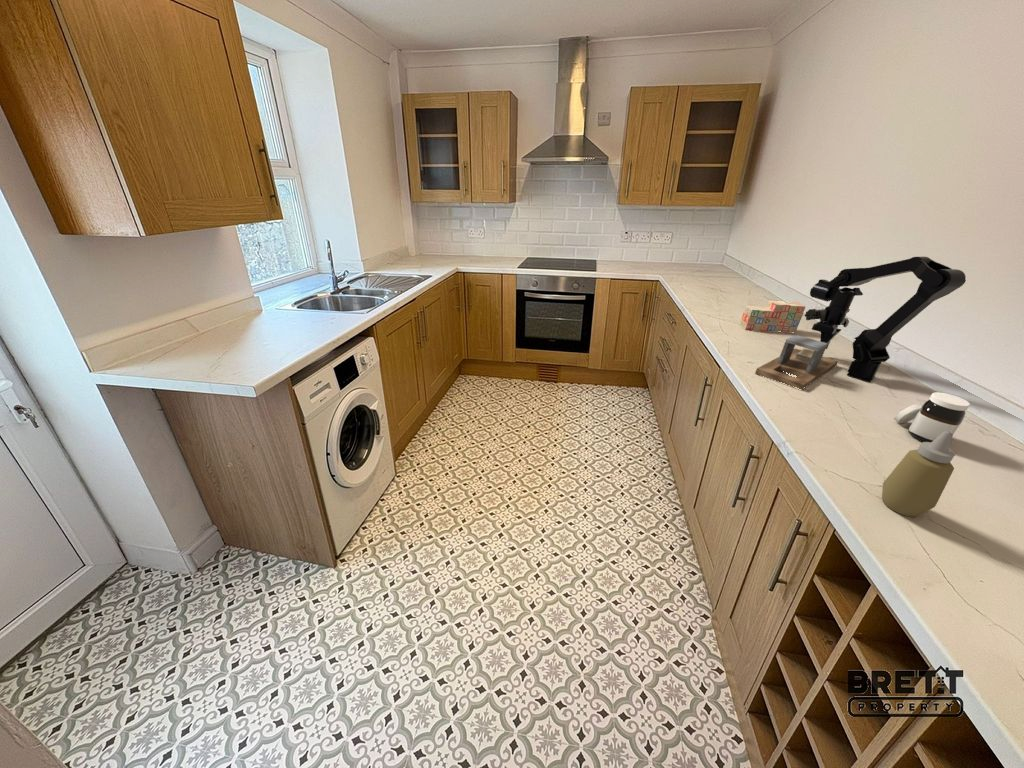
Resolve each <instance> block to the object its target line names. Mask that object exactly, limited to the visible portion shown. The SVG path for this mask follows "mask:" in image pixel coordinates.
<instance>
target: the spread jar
mask: <svg viewBox="0 0 1024 768" xmlns="http://www.w3.org/2000/svg"><path fill="white" fill-rule="evenodd" d="M970 406H971V403H970V402H969V401H968V400H966V399H964V398H962V397H959V396H957V395H953V394H951V393H946V392H938V391H937V392H932V393H931V395H930V396H929V399H928V400H926V401H925V402H924V403H923V404H922V403H914V404H913V405H912V404H911V405H910V406H908V407H906V408H904V409H902V410H901V411H899V412H898V413H897V414H896V415H895V416H894V418H893V419H894V420H895V422H896V423H897V424H899V425H901V424H905V423H908V422H911V421H912V422H911V424H910V426H909V428H908V431H907V432H908V434H909V435H910V436H911V437H912V438H914V439H916V440H917V441H920V442H921V443H922V442H933V441H934V440H935V439H936V438H937V437H938V436H939V435H940V434H942V433H943V432H944V431H949V432H951V433H953V435H954V434H955V433H956V431H957V430H958V428H959V427H960V425H961V424H962V422H963V420H964V418H965V417H966V411H967V410H968V409H969V407H970Z"/></svg>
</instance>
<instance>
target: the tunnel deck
mask: <svg viewBox="0 0 1024 768" xmlns="http://www.w3.org/2000/svg"><path fill="white" fill-rule="evenodd" d="M827 344H828V343H824V342H820V340H817V339H813V338H809V337H807V336H806V337H805V336H802V335H798V334H794V335H792V336H791V337H788V338H786V339H785V342H784V345H783V346H782V350H781V352H780V355H779V356H778V357H776V358H774V359H772V360H770V361H768V362H767V363H764V364H763V365H761V366H758V367H756V370H755V373H754V374H755V375H757V376H760V375H761V376H760V377H763V376H764V377H763V378H765V377H767V378H766V379H768V378H770V379H769V380H771V379H773V380H772V381H774V380H776V381H775V382H777V381H779V382H782V383H785V384H787V385H786V386H788V385H790V386H794V387H797V388H799V389H802V390H804V389H805V388H807V387H808V386H810V385H811V384H813V383H814V382H815V381H817V380H818V379H820V378H821V377H823V376H824V375H825V373H826V374H827V373H829V372H830V371H832V370H833V369H835V368H836V367H837V365H838V363H839V361H838V360H835V359H831V358H828V357H825V356H824V353H825V351H826V350H827V349H826V347H827ZM795 346H798V347H800V348H801V347H802V348H808V349H811V350H814V352H813V355H812V357H811V359H810V362H807V361H804V360H801V359H797V358H795V357H796V355H797V353H799V352H801V351H802V350H803V349H802V350H801V349H798V348H795ZM822 356H823V357H822ZM821 358H822V359H821ZM835 366H836V367H835ZM783 371H784V372H783ZM828 371H829V372H828ZM786 372H787V373H788V374H789V373H790V375H791V374H793V375H796V376H797V377H796V378H795V377H792V376H789V375H788V374H786ZM822 375H823V376H822ZM819 377H820V378H819ZM816 379H817V380H816ZM813 381H814V382H813ZM779 382H778V383H779ZM812 382H813V383H812ZM782 383H781V384H782ZM810 383H811V384H810ZM785 384H784V385H785ZM809 384H810V385H809ZM807 385H808V386H807ZM790 386H789V387H790ZM806 386H807V387H806ZM804 387H805V388H804ZM803 388H804V389H803ZM799 389H798V390H799Z"/></svg>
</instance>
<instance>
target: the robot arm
mask: <svg viewBox="0 0 1024 768" xmlns="http://www.w3.org/2000/svg"><path fill="white" fill-rule="evenodd" d="M907 273H908V274H909V273H912V274H913V275H914V276H915V277H916V278H917V279H918V280H920V281H921V282H920V284H918V287H917V290H916V293H914V294H913V296H912V297H910V298H909V299H908V300H907V301H906V302H904V304H902V305H901V306H900V307H899V308H898V309H897V310H896V311H895V312H893V313H892V314H891V315H890V316H889V317H888V318H887V319H885V320H884V321H883V322H882V323H880V324H879V326H877V327H875V328H870V329H869V328H868V329H864V330H863V331H861V332H860V334H858V336H856V337H854V340H853V342H852V344H851V345H852V348H853V349H852V351H853V352H852V359H853V360H852V361H851V363H850V366H849V367H848V370H847V374H846V376H848V377H851V378H854V379H858V380H861V381H863V382H864V381H865V382H867V383H871V382H872V381H873V380H875V379H876V374H877V372H878V371H879V368H880V367H881V365H882V363H886V362H887V361H888V360H889V359H890V358H891V357H890V355H889V352H888V351H887V347H888V346H889V345H890V343H891V342H892V337H893V336H894V335H895V334H897V333H898V332H899V331H900V330H901V329H902V328H903V327H905V326H906V325H908V323H910V322H911V321H912V320H913V319H915V318H916V317H917V316H918V315H919V314H920V313H921V312H923V311H924V310H925V309H926V308H927V307H928V306H930V305H931V304H932V303H933V302H935V301H937V300H939V299H941V298H944V297H946V296H948V295H950V294H951V293H953V292H954V291H956V290H958V289H959V288H961V287H963V285H964V284H966V274H965V272H964V271H962V270H960V269H956V268H954V269H953V268H951V267H949V266H948V265H945V264H942V263H939V262H937V261H935V260H933V259H931V258H930V257H928V256H913V257H910V258H907V259H903V260H898V261H893V262H889V263H884V264H880V265H874V266H871V267H859V268H857V267H854V268H853V267H852V268H844V269H842V270H841V271H840V270H839V273H838V274H837V275H836V276H835V277H834V278H832V279H831V280H830V281H829V280H828V279H821V278H820V279H819V280H818V282H817V283H815V284H813V286H812V287H811V289H810V290H809V296H810V298H815V299H817V300H821V301H824V302H829V305H828V306H826V307H825V308H823V309H822V308H821V309H816V308H812V309H811V308H809V309H808V310H807V311H805V314H804V317H805V321H810V320H811V321H812V320H819V321H817V322H816V323H813V325H812V327H811V331H816V332H820V340H819V341H820V342H824V343H828V342H829V341H830V340H831V341H832V340H833V339H834V338H835V337H836V336H837V335H838V334H839V333H841V331H842V329H841V328H839V326H843V328H847V327H849V323H850V320H849V319H848V318H847V317H846V316H847V313H849V312H850V311H851V309H850V307H851V305H852V302H853V300H854V298H855V296H857V297H858V296H860V297H861V296H863V295H864V293H863V291H862V290H861V288H860V287H859V286H862V285H864V284H865V285H866V284H868V283H870V282H871V281H874V280H876V279H881V278H882V279H883V278H886V277H891V276H896V275H902V274H907ZM857 286H858V287H857ZM841 287H842V288H841ZM851 287H854V288H851ZM831 341H830V342H831Z"/></svg>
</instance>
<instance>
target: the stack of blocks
mask: <svg viewBox="0 0 1024 768" xmlns="http://www.w3.org/2000/svg"><path fill="white" fill-rule="evenodd" d="M805 309H806V306H805V305H803V304H801V303H800V302H794V301H793V302H792V301H786V300H785V301H783V300H781V301H779V300H768V303H767V306H752V305H745V308H744V310H743V312H742V317H741V319H740V323H739V326H740V327H741V328H743V330H745V331H753V330H754V331H757V332H768V331H781V332H794V333H793V334H796V333H797V329H798V327H799V325H800V322H801V320H802V318H803V315H804V311H805ZM781 332H780V333H781Z"/></svg>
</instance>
